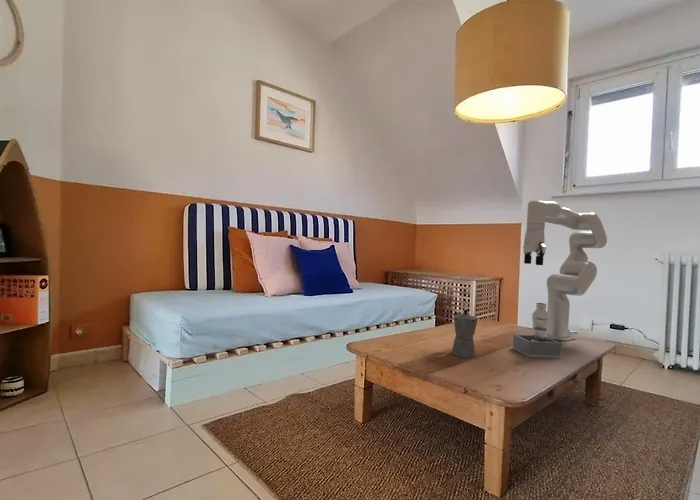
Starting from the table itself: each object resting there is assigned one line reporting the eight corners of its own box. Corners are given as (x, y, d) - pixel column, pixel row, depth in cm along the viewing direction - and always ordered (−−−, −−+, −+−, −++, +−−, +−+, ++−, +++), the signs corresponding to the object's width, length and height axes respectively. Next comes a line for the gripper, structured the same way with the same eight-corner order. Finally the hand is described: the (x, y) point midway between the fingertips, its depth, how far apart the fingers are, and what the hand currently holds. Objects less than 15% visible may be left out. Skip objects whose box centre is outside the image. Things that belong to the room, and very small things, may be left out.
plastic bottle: (545, 350, 157) (548, 303, 157) (548, 354, 151) (551, 305, 150) (528, 348, 159) (531, 301, 159) (531, 352, 153) (534, 303, 152)
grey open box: (542, 349, 163) (543, 335, 163) (560, 358, 150) (561, 343, 150) (512, 348, 162) (513, 334, 162) (528, 357, 150) (528, 342, 149)
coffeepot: (483, 359, 144) (485, 312, 143) (460, 359, 142) (463, 312, 141) (462, 347, 159) (465, 305, 158) (442, 348, 157) (444, 305, 156)
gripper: (518, 227, 182) (516, 262, 182) (538, 226, 164) (535, 265, 165) (533, 228, 182) (530, 263, 183) (554, 227, 165) (552, 266, 165)
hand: (533, 264), depth 174 cm, fingers open, 9 cm apart
